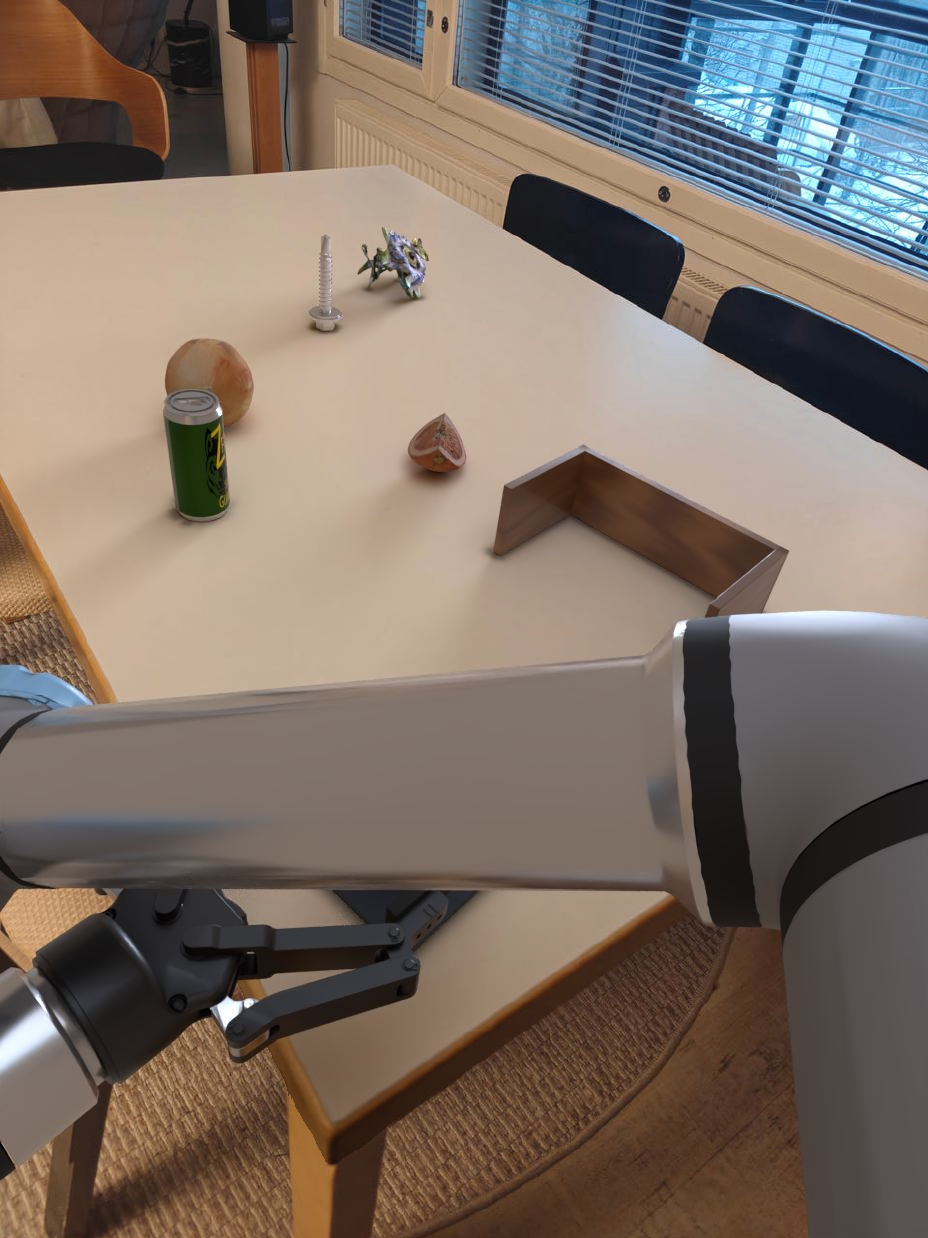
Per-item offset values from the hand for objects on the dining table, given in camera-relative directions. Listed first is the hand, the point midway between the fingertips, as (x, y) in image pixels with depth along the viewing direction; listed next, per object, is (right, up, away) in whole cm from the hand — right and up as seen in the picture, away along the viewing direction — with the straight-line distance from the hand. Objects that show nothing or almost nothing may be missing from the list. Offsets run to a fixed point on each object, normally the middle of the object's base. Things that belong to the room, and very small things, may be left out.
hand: (391, 785), depth 54 cm
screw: (-16, +53, +72) cm, 90 cm away
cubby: (+20, +14, +32) cm, 40 cm away
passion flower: (-7, +63, +85) cm, 106 cm away
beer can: (-22, +22, +34) cm, 46 cm away
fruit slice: (+1, +28, +45) cm, 53 cm away
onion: (-25, +33, +48) cm, 63 cm away
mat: (0, -5, +7) cm, 9 cm away
